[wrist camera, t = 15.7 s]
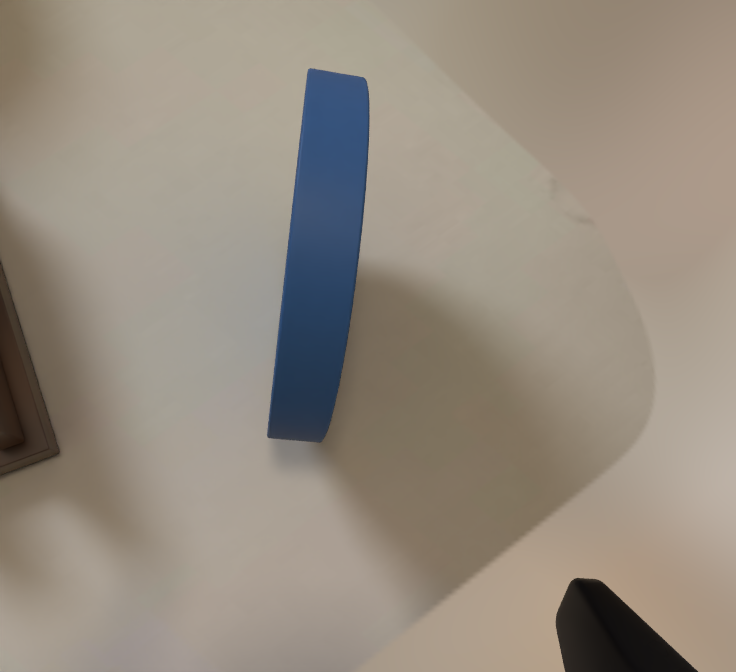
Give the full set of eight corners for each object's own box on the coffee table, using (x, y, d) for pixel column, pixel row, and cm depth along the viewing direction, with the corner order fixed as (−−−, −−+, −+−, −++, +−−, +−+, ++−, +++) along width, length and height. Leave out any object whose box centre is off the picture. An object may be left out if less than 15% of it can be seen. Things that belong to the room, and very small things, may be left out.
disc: (308, 483, 22) (361, 343, 12) (261, 480, 22) (278, 334, 12) (327, 229, 27) (375, -10, 17) (290, 224, 27) (317, -21, 17)
